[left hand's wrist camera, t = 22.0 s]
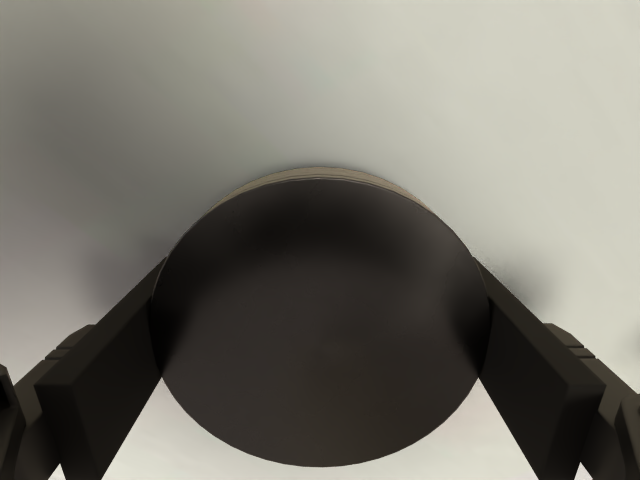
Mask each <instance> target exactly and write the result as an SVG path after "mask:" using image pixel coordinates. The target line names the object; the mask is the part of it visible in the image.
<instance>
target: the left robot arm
mask: <svg viewBox="0 0 640 480" xmlns="http://www.w3.org/2000/svg"><path fill="white" fill-rule="evenodd" d="M166 259H167V257H165V258H164V259H163V260H162V261H161V262H160V263H159V264H158V265H157V266H156V267H155V268H154V269H153V270H152V271H151V272H150V273H149V274H148V275H147V276H146V277H145V278H144V279H143V280H142V281H140V282H139V283H138V284H137V285H136V286H135V287H134V288H133V289H132V290H131V291H130V292H129V293H128V294H127V295H126V296H125V297H124V298H123V299H122V300H121V301H120V302H119V303H118V304H117V305H116V306H115V307H114V308H113V309H111V310H110V311H109V312H108V313H107V314H106V315H105V316H104V317H103V318H102V319H101V320H100V321H99V322H98V323H97V324H96V325H87V326H85V327H83V328H81V329H80V330H78V331H76V332H74V333H72V334H71V335H69V336H68V337H67V338H66V339H65V340H64V341H63V342H61V343H60V344H59V345H58V346H57V347H56V350H53V351H52V352H50V353H49V354H48V355H47V356H46V357H45V360H42V361H41V362H39V363H38V364H37V365H36V366H35V367H34V368H33V369H32V370H31V371H29V372H28V373H27V374H26V375H25V376H24V377H23V378H22V379H21V380H20V381H18V382H17V383H16V384H15V385H14V386H13V384H12V382H11V379H10V376H9V373H8V371H7V368H6V367H5V366H3V365H1V364H0V480H48V479H49V477H50V476H51V475H52V473H53V472H54V471H55V469H56V468H57V466H58V465H59V464H61V467H62V470H63V473H64V476H65V479H66V480H101V479H102V477H103V476H104V474H105V472H106V471H107V469H108V467H109V465H110V464H111V462H112V460H113V459H114V457H115V455H116V454H117V452H118V450H119V448H120V447H121V445H122V443H123V442H124V440H125V438H126V437H127V435H128V433H129V432H130V430H131V428H132V426H133V425H134V423H135V421H136V420H137V418H138V416H139V415H140V413H141V411H142V409H143V408H144V406H145V404H146V403H147V401H148V399H149V398H150V396H151V394H152V392H153V391H154V389H155V387H156V386H157V384H158V382H159V381H160V379H161V377H162V376H161V373H160V371H159V369H158V367H157V364H156V360H155V357H154V353H153V348H152V342H151V337H150V330H149V323H150V305H151V300H152V295H153V289H154V287H155V284H156V281H157V278H158V275H159V272H160V270H161V268H162V266H163V264H164V262H165V261H166ZM473 259H474V260H475V262H476V264H477V265H478V268H479V270H480V273H481V275H482V278H483V280H484V283H485V285H486V290H487V294H488V299H489V303H490V317H491V330H490V337H489V343H488V348H487V353H486V358H485V362H484V364H483V367H482V369H481V372H480V374H479V376H478V377H479V379H480V381H481V383H482V384H483V386H484V388H485V389H486V391H487V393H488V394H489V396H490V398H491V399H492V401H493V403H494V405H495V406H496V408H497V410H498V411H499V413H500V415H501V416H502V418H503V420H504V422H505V423H506V425H507V427H508V428H509V430H510V432H511V433H512V435H513V437H514V439H515V440H516V442H517V444H518V445H519V447H520V449H521V450H522V452H523V454H524V455H525V457H526V459H527V461H528V462H529V464H530V466H531V467H532V469H533V471H534V472H535V474H536V476H537V478H538V479H539V480H574V479H575V476H576V473H577V470H578V467H579V464H580V462H581V463H582V465H583V466H584V467H585V469H586V470H587V471H588V473H589V474H590V475H591V477H592V478H593V479H592V480H640V394H637V393H636V392H635V391H634V390H632V389H631V388H630V387H629V386H628V385H627V384H626V383H625V382H624V381H622V380H621V379H620V378H619V377H618V376H617V375H616V374H615V373H614V372H612V371H611V370H610V369H609V368H608V367H607V366H606V365H605V364H604V363H602V362H601V361H600V360H599V359H596V358H595V355H594V354H592V353H591V352H590V351H589V350H588V349H587V348H584V345H582V344H581V343H580V342H579V341H578V340H577V339H576V338H575V337H574V336H572V335H571V334H570V333H568V332H566V331H565V330H563V329H561V328H559V327H557V326H556V325H554V324H552V323H542V322H541V321H540V320H539V319H538V318H537V317H536V316H535V315H534V314H533V313H531V312H530V311H529V310H528V309H527V308H526V307H525V306H524V305H523V304H522V303H521V302H520V301H519V300H518V299H517V298H516V297H515V296H514V295H513V294H512V293H511V292H510V291H509V290H508V289H507V288H506V287H505V286H504V285H502V284H501V283H500V282H499V281H498V280H497V279H496V278H495V277H494V276H493V275H492V274H491V273H490V272H489V271H488V270H487V269H486V268H485V267H484V266H483V265H482V264H481V263H480V262H479V261H478V260H477V259H476V258H475V257H473Z"/></svg>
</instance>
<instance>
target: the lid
mask: <svg viewBox="0 0 640 480" xmlns="http://www.w3.org/2000/svg"><path fill="white" fill-rule="evenodd" d="M149 330H150V337H151V342H152V348H153V353H154V357H155V360H156V364H157V367H158V369H159V371H160V373H161V376H162V378H163V380H164V382H165V384H166V385H167V387H168V389H169V390H170V392H171V393H172V395H173V397H174V398H175V399H176V401H177V402H178V403H179V404H180V405H181V407H182V408H183V409H184V410H185V411H186V413H187V414H188V415H189V416H191V417H192V418H193V419H194V420H195V421H196V422H197V423H198V424H199V425H200V426H201V427H203V428H204V429H205V430H207V431H208V432H209V433H211V434H212V435H214V436H215V437H217V438H218V439H220V440H222V441H223V442H225V443H227V444H228V445H230V446H232V447H234V448H237V449H239V450H241V451H243V452H245V453H248V454H250V455H253V456H256V457H259V458H262V459H265V460H269V461H273V462H278V463H282V464H288V465H295V466H303V467H336V466H346V465H352V464H359V463H363V462H367V461H371V460H375V459H379V458H381V457H384V456H387V455H390V454H392V453H395V452H398V451H400V450H402V449H404V448H406V447H408V446H410V445H412V444H414V443H415V442H417V441H419V440H420V439H422V438H424V437H425V436H427V435H428V434H430V433H431V432H432V431H434V430H435V429H436V428H437V427H439V426H440V425H441V424H442V423H444V422H445V421H446V420H447V419H448V418H449V417H450V416H451V415H452V414H453V413H454V412H455V411H456V410H457V408H458V407H459V406H460V405H461V403H462V402H463V401H464V399H465V398H466V397H467V396H468V394H469V392H470V391H471V389H472V387H473V386H474V384H475V382H476V381H477V379H478V376H479V374H480V372H481V369H482V367H483V364H484V362H485V358H486V353H487V348H488V343H489V337H490V330H491V317H490V303H489V299H488V294H487V290H486V285H485V283H484V280H483V278H482V275H481V273H480V270H479V268H478V265H477V264H476V262H475V260H474V259H473V257H472V255H471V254H470V252H469V250H468V248H467V247H466V246H465V245H464V243H463V242H462V241H461V240H460V239H459V237H458V236H457V235H456V234H455V232H454V231H453V230H452V229H451V228H450V227H449V226H448V225H446V224H445V223H444V222H443V221H442V220H441V219H440V218H439V217H438V216H437V215H436V214H435V213H433V212H432V211H431V210H430V209H429V208H428V207H427V206H426V205H425V204H423V203H422V202H421V201H420V200H419V199H417V198H416V197H414V196H413V195H411V194H410V193H408V192H407V191H405V190H404V189H402V188H400V187H398V186H396V185H394V184H392V183H390V182H388V181H386V180H384V179H381V178H378V177H375V176H372V175H369V174H366V173H363V172H359V171H353V170H348V169H342V168H329V167H310V168H298V169H291V170H287V171H282V172H278V173H273V174H270V175H268V176H265V177H262V178H259V179H257V180H254V181H252V182H250V183H248V184H246V185H244V186H242V187H240V188H238V189H236V190H234V191H233V192H231V193H230V194H229V195H227V196H226V197H224V198H223V199H222V200H220V201H219V202H218V203H216V204H215V205H214V206H213V207H212V208H211V209H210V210H209V211H208V212H206V213H205V214H204V215H203V216H202V217H201V218H200V219H199V220H198V221H197V222H196V223H195V224H194V225H193V226H192V227H191V228H190V229H189V230H188V231H187V232H185V233H184V234H183V236H182V237H181V238H180V240H179V241H178V242H177V244H176V245H175V246H174V248H173V249H172V250H171V252H170V253H169V255H168V257H167V259H166V261H165V262H164V264H163V266H162V268H161V270H160V272H159V275H158V278H157V281H156V284H155V287H154V289H153V295H152V300H151V305H150V323H149Z"/></svg>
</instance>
